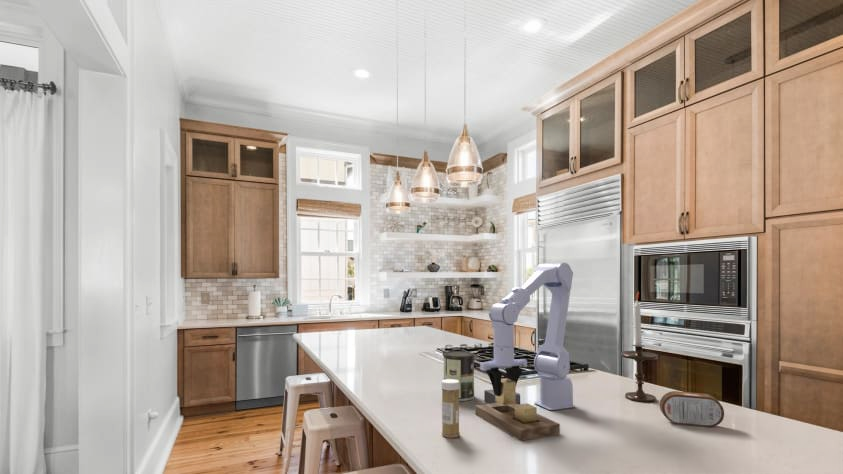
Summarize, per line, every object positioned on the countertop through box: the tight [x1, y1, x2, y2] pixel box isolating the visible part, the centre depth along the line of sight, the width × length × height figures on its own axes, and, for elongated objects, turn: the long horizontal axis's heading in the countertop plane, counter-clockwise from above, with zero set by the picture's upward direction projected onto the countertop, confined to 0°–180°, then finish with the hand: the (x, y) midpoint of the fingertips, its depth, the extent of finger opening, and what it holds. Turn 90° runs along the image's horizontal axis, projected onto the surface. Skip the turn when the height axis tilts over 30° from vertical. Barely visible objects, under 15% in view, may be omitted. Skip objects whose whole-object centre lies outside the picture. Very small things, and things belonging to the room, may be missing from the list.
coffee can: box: [442, 350, 475, 402], centre depth 147 cm, size 10×10×14 cm
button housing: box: [483, 388, 521, 405], centre depth 139 cm, size 8×8×4 cm
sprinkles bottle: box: [441, 379, 461, 439], centre depth 112 cm, size 5×5×13 cm
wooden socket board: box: [474, 403, 561, 442], centre depth 120 cm, size 12×22×2 cm, turn 23°
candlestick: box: [620, 290, 658, 404], centre depth 146 cm, size 11×11×35 cm
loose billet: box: [495, 377, 517, 405], centre depth 125 cm, size 4×4×6 cm
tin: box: [659, 390, 725, 428], centre depth 120 cm, size 15×3×8 cm, turn 72°
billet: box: [515, 402, 538, 424], centre depth 116 cm, size 4×4×6 cm
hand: (504, 394), depth 125 cm, fingers closed on loose billet, 4 cm apart
